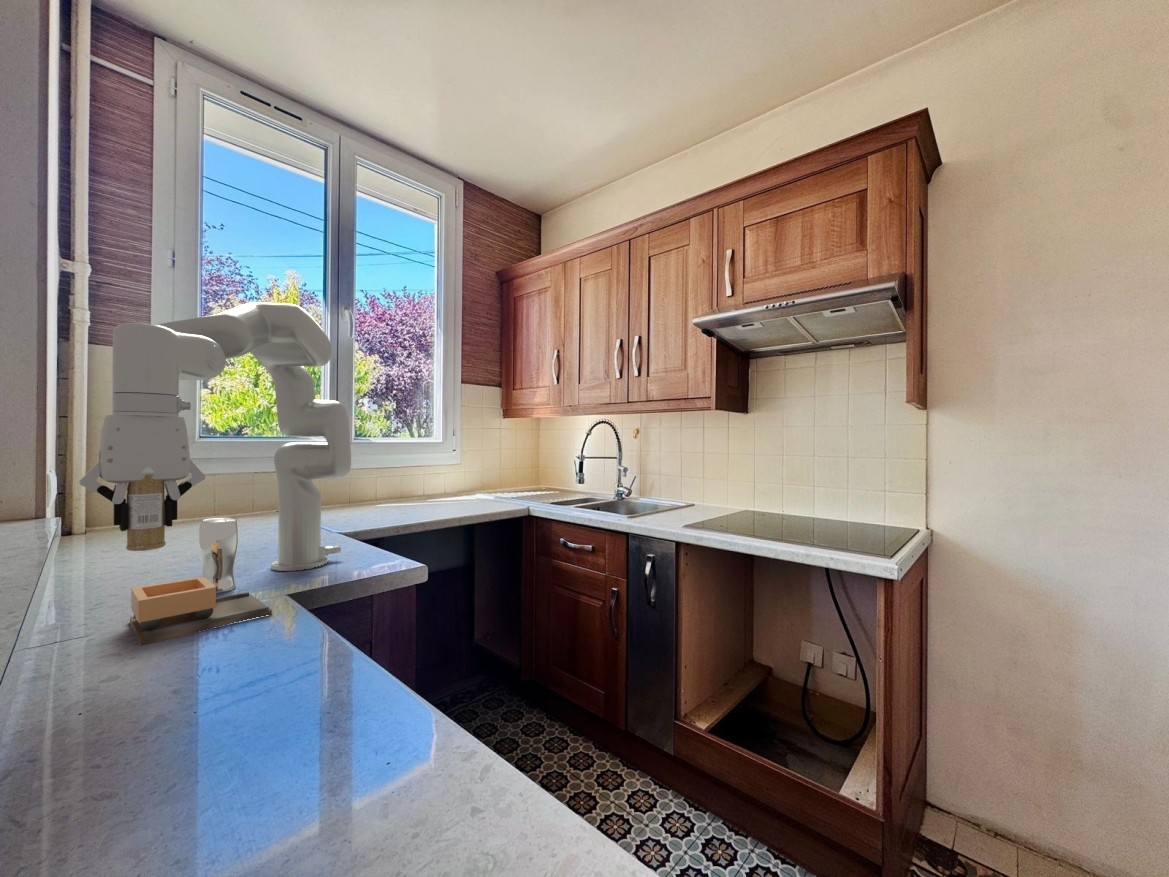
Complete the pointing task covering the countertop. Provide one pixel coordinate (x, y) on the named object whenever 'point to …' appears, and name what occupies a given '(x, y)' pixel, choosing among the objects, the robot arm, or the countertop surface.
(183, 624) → the track board
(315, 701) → the countertop surface
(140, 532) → the sprinkles bottle
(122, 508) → the robot arm
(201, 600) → the cart
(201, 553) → the beer glass
